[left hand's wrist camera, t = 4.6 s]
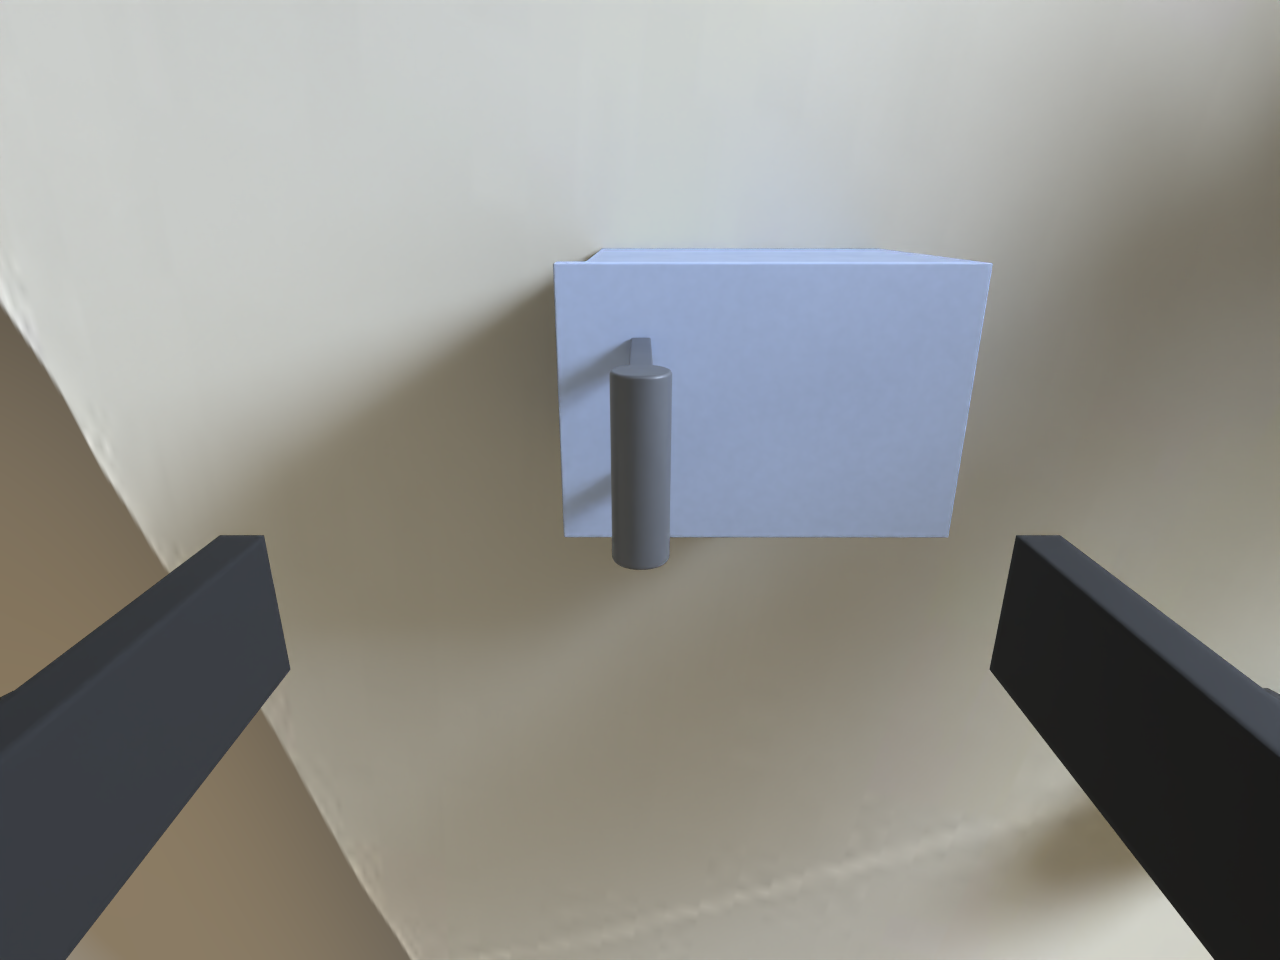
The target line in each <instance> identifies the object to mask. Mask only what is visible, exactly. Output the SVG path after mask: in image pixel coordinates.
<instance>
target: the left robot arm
mask: <svg viewBox="0 0 1280 960" xmlns="http://www.w3.org/2000/svg"><path fill="white" fill-rule="evenodd" d="M289 671H290V665H289V660H288V655H287V650H286V645H285V639H284V634H283V629H282V624H281V619H280V614H279V609H278V604H277V599H276V594H275V589H274V584H273V579H272V574H271V569H270V564H269V559H268V554H267V549H266V544H265V539H264V535H220V536H218V537H217V538H216V539H215V540H213V541H212V542H211V543H209V544H208V545H207V546H205V547H204V548H203V549H201V550H200V551H199V552H197V553H196V554H195V555H193V556H192V557H191V558H189V559H188V560H187V561H185V562H184V563H183V564H181V565H180V566H179V567H177V568H176V569H175V570H173V571H172V572H171V573H169V574H168V575H167V576H166V577H164V578H163V579H162V580H160V581H159V582H158V583H156V584H155V585H154V586H152V587H151V588H150V589H148V590H147V591H146V592H144V593H143V594H142V595H140V596H139V597H138V598H136V599H135V600H134V601H132V602H131V603H130V604H129V605H127V606H126V607H124V608H123V609H122V610H121V611H119V612H118V613H117V614H115V615H114V616H113V617H111V618H110V619H109V620H107V621H106V622H105V623H103V624H102V625H101V626H99V627H98V628H97V629H95V630H94V631H93V632H91V633H90V634H89V635H87V636H86V637H85V638H83V639H82V640H81V641H80V642H78V643H77V644H76V645H74V646H73V647H72V648H70V649H69V650H68V651H66V652H65V653H64V654H62V655H61V656H60V657H58V658H57V659H56V660H54V661H53V662H52V663H50V664H49V665H48V666H46V667H45V668H44V669H42V670H41V671H40V672H38V673H37V674H36V675H35V676H33V677H32V678H31V679H29V680H28V681H27V682H25V683H24V684H23V685H21V686H20V687H19V688H17V689H16V690H15V691H12V692H10V693H8V694H6V695H4V696H2V697H0V960H66V958H67V957H68V956H69V955H70V953H71V952H72V951H73V949H74V948H75V947H76V945H77V944H78V943H79V942H80V940H81V939H82V938H83V937H84V935H85V934H86V933H87V931H88V930H89V929H90V927H91V926H92V925H93V924H94V922H95V921H96V920H97V918H98V917H99V916H100V915H101V913H102V912H103V911H104V909H105V908H106V907H107V905H108V904H109V903H110V902H111V900H112V899H113V898H114V897H115V895H116V894H117V893H118V891H119V890H120V889H121V887H122V886H123V885H124V884H125V882H126V881H127V880H128V878H129V877H130V876H131V875H132V873H133V872H134V871H135V869H136V868H137V867H138V866H139V864H140V863H141V862H142V860H143V859H144V858H145V856H146V855H147V854H148V853H149V851H150V850H151V849H152V847H153V846H154V845H155V844H156V842H157V841H158V840H159V838H160V837H161V836H162V835H163V833H164V832H165V831H166V829H167V828H168V827H169V825H170V824H171V823H172V822H173V820H174V819H175V818H176V816H177V815H178V814H179V813H180V811H181V810H182V809H183V807H184V806H185V805H186V804H187V802H188V801H189V800H190V798H191V797H192V796H193V795H194V793H195V792H196V791H197V789H198V788H199V787H200V785H201V784H202V783H203V782H204V780H205V779H206V778H207V776H208V775H209V774H210V773H211V771H212V770H213V769H214V767H215V766H216V765H217V764H218V762H219V761H220V760H221V758H222V757H223V756H224V754H225V753H226V752H227V751H228V749H229V748H230V747H231V745H232V744H233V743H234V742H235V740H236V739H237V738H238V736H239V735H240V734H241V733H242V731H243V730H244V729H245V727H246V726H247V725H248V723H249V722H250V721H251V720H252V718H253V717H254V716H255V714H256V713H257V712H258V711H259V709H260V708H261V707H262V705H263V704H264V703H265V702H266V700H267V699H268V698H269V696H270V695H271V694H272V693H273V691H274V690H275V689H276V687H277V686H278V685H279V683H280V682H281V681H282V680H283V678H284V677H285V676H286V674H287V673H288V672H289ZM990 671H991V672H992V673H993V674H994V676H995V677H996V678H997V680H998V681H999V682H1000V683H1001V685H1002V686H1003V687H1004V689H1005V690H1006V691H1007V693H1008V694H1009V695H1010V696H1011V698H1012V699H1013V700H1014V702H1015V703H1016V704H1017V705H1018V707H1019V708H1020V709H1021V711H1022V712H1023V713H1024V714H1025V716H1026V717H1027V718H1028V720H1029V721H1030V722H1031V724H1032V725H1033V726H1034V727H1035V729H1036V730H1037V731H1038V733H1039V734H1040V735H1041V736H1042V738H1043V739H1044V740H1045V742H1046V743H1047V744H1048V745H1049V747H1050V748H1051V749H1052V751H1053V752H1054V753H1055V754H1056V756H1057V757H1058V758H1059V760H1060V761H1061V762H1062V764H1063V765H1064V766H1065V767H1066V769H1067V770H1068V771H1069V773H1070V774H1071V775H1072V776H1073V778H1074V779H1075V780H1076V782H1077V783H1078V784H1079V785H1080V787H1081V788H1082V789H1083V791H1084V792H1085V793H1086V795H1087V796H1088V797H1089V798H1090V800H1091V801H1092V802H1093V804H1094V805H1095V806H1096V807H1097V809H1098V810H1099V811H1100V813H1101V814H1102V815H1103V816H1104V818H1105V819H1106V820H1107V822H1108V823H1109V824H1110V826H1111V827H1112V828H1113V829H1114V831H1115V832H1116V833H1117V835H1118V836H1119V837H1120V838H1121V840H1122V841H1123V842H1124V844H1125V845H1126V846H1127V847H1128V849H1129V850H1130V851H1131V853H1132V854H1133V855H1134V856H1135V858H1136V859H1137V860H1138V862H1139V863H1140V864H1141V866H1142V867H1143V868H1144V869H1145V871H1146V872H1147V873H1148V875H1149V876H1150V877H1151V878H1152V880H1153V881H1154V882H1155V884H1156V885H1157V886H1158V887H1159V889H1160V890H1161V891H1162V893H1163V894H1164V895H1165V897H1166V898H1167V899H1168V900H1169V902H1170V903H1171V904H1172V906H1173V907H1174V908H1175V909H1176V911H1177V912H1178V913H1179V915H1180V916H1181V917H1182V918H1183V920H1184V921H1185V922H1186V924H1187V925H1188V926H1189V927H1190V929H1191V930H1192V931H1193V933H1194V934H1195V935H1196V937H1197V938H1198V939H1199V940H1200V942H1201V943H1202V944H1203V946H1204V947H1205V948H1206V949H1207V951H1208V952H1209V953H1210V955H1211V956H1212V957H1213V958H1214V960H1280V694H1278V693H1276V692H1274V691H1272V690H1270V689H1268V688H1261V687H1260V686H1259V685H1257V684H1256V683H1255V682H1253V681H1252V680H1251V679H1250V678H1248V677H1247V676H1246V675H1244V674H1243V673H1242V672H1240V671H1239V670H1238V669H1236V668H1235V667H1234V666H1232V665H1231V664H1230V663H1228V662H1227V661H1226V660H1224V659H1223V658H1222V657H1220V656H1219V655H1218V654H1216V653H1215V652H1214V651H1212V650H1211V649H1210V648H1208V647H1207V646H1206V645H1204V644H1203V643H1202V642H1201V641H1199V640H1198V639H1197V638H1195V637H1194V636H1193V635H1191V634H1190V633H1189V632H1187V631H1186V630H1185V629H1183V628H1182V627H1181V626H1179V625H1178V624H1177V623H1175V622H1174V621H1173V620H1171V619H1170V618H1169V617H1167V616H1166V615H1165V614H1163V613H1162V612H1161V611H1159V610H1158V609H1157V608H1156V607H1154V606H1153V605H1152V604H1150V603H1149V602H1148V601H1146V600H1145V599H1144V598H1142V597H1141V596H1140V595H1138V594H1137V593H1136V592H1134V591H1133V590H1132V589H1130V588H1129V587H1128V586H1126V585H1125V584H1124V583H1122V582H1121V581H1120V580H1118V579H1117V578H1116V577H1114V576H1113V575H1112V574H1110V573H1109V572H1108V571H1107V570H1105V569H1104V568H1103V567H1101V566H1100V565H1099V564H1097V563H1096V562H1095V561H1093V560H1092V559H1091V558H1089V557H1088V556H1087V555H1085V554H1084V553H1083V552H1081V551H1080V550H1079V549H1077V548H1076V547H1075V546H1073V545H1072V544H1071V543H1069V542H1068V541H1067V540H1065V539H1064V538H1063V537H1062V536H1060V535H1016V539H1015V544H1014V549H1013V554H1012V559H1011V564H1010V569H1009V574H1008V579H1007V584H1006V589H1005V594H1004V599H1003V604H1002V609H1001V614H1000V619H999V624H998V629H997V634H996V639H995V645H994V650H993V655H992V660H991V665H990Z"/></svg>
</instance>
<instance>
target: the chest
mask: <svg viewBox="0 0 1280 960" xmlns="http://www.w3.org/2000/svg"><path fill="white" fill-rule="evenodd" d="M586 262H977V261H970V260H962V259H955V258H947V257H939V256H931V255H923V254H916V253H908V252H900V251H892V250H885V249H601V250H600V251H599V252H597V253H596V254H595V255H593V256H592V257H591V258H590V259H588V260H587V261H586Z"/></svg>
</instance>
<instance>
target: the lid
mask: <svg viewBox="0 0 1280 960" xmlns="http://www.w3.org/2000/svg"><path fill="white" fill-rule="evenodd" d="M991 271H992V263H986V262H556V263H554V264H553V273H554V298H555V323H556V348H557V373H558V398H559V422H560V447H561V472H562V497H563V522H564V537H612V557H613V559H614V561H615V562H616V563H617V564H618V565H620V566H622V567H625V568H629V569H635V570H646V569H653V568H657V567H659V566H662V565H663V564H665V563H666V562H667V561H668V559H669V552H670V537H948V535H949V529H950V523H951V517H952V511H953V504H954V498H955V492H956V486H957V480H958V474H959V468H960V461H961V455H962V449H963V443H964V437H965V431H966V425H967V418H968V412H969V406H970V400H971V394H972V388H973V382H974V375H975V369H976V363H977V357H978V351H979V345H980V339H981V332H982V326H983V320H984V314H985V308H986V302H987V296H988V289H989V283H990V277H991Z"/></svg>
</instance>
